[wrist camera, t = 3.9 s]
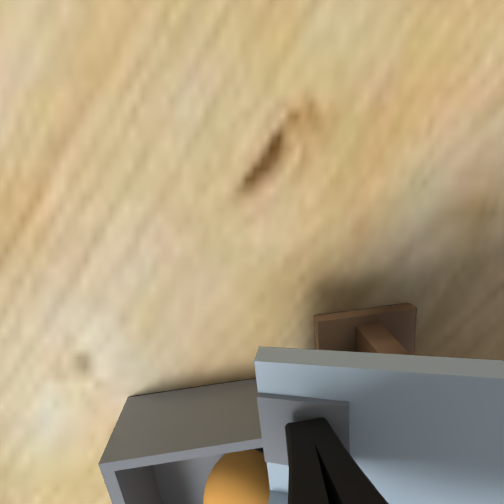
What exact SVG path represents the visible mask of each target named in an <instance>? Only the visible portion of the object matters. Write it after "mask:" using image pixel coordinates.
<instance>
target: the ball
mask: <svg viewBox="0 0 504 504" xmlns="http://www.w3.org/2000/svg"><path fill="white" fill-rule="evenodd" d="M269 494H270V485H269V477H268V469H267V462H265V459H264V454H263V453H261V452H260V451H257V450H255V449H250V450H244V451H237V452H231V453H227V454H225V455H224V456H223V457H221V458H220V459H219V460H218V461H217V463H216V464H215V465H214V467H213V468H212V470H211V472H210V474H209V476H208V479H207V482H206V485H205V490H204V498H203V504H268V500H269Z"/></svg>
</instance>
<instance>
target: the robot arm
mask: <svg viewBox="0 0 504 504" xmlns="http://www.w3.org/2000/svg"><path fill="white" fill-rule="evenodd" d="M285 435H286V445H287V456H288V466H289V479H288V504H389V503H388V502H387V501H386V500H385V499H384V497H383V496H382V495H381V494H380V493H379V491H378V490H377V489H376V488H375V486H374V485H373V484H372V482H371V481H370V480H369V479H368V477H367V476H366V475H365V474H364V472H363V471H362V470H361V468H360V467H359V466H358V464H357V463H356V462H355V460H354V459H353V458H352V456H351V455H350V454H349V452H348V451H347V449H346V448H345V447H344V445H343V444H342V442H341V441H340V439H339V438H338V436H337V435H336V433H335V432H334V430H333V429H332V427H331V426H330V424H329V422H328V421H327V419H325V418H324V417H323V418H317V419H311V420H304V421H298V422H291V423H287V424H286V425H285Z"/></svg>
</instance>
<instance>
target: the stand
mask: <svg viewBox="0 0 504 504" xmlns="http://www.w3.org/2000/svg"><path fill="white" fill-rule="evenodd" d="M416 313H417V308H416V307H415V306H413V305H412V304H411V303H403V304H396V305H389V306H382V307H374V308H367V309H360V310H353V311H346V312H338V313H331V314H324V315H317V316H314V326H315V346H316V350H331V351H348V352H366V353H383V354H401V355H414V343H415V328H416Z"/></svg>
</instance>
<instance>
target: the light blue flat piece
mask: <svg viewBox="0 0 504 504" xmlns="http://www.w3.org/2000/svg"><path fill="white" fill-rule="evenodd" d="M254 365H255V373H256V381H257V389H258V394H257V404H258V411H259V419H260V427H261V435H262V443H263V451H264V459H265V462H267V469H268V477H269V485H270V494H269V500H268V504H288V479H289V466H288V456H287V445H286V435H285V425H286V424H287V423H291V422H298V421H304V420H311V419H317V418H323V417H324V418H325V419H327V421H328V422H329V424H330V426H331V427H332V429H333V430H334V432H335V433H336V435H337V436H338V438H339V439H340V441H341V442H342V444H343V445H344V447H345V448H346V449H347V451H348V452H349V454H350V455H351V456H352V458H353V459H354V460H355V462H356V463H357V464H358V466H359V467H360V468H361V470H362V471H363V472H364V474H365V475H366V476H367V477H368V479H369V480H370V481H371V482H372V484H373V485H374V486H375V488H376V489H377V490H378V491H379V493H380V494H381V495H382V496H383V497H384V499H385V500H386V501H387V502H388V503H389V504H504V360H488V359H471V358H453V357H436V356H418V355H401V354H383V353H366V352H348V351H331V350H313V349H296V348H278V347H261V346H259V348H258V351H257V354H256V357H255V360H254Z"/></svg>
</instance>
